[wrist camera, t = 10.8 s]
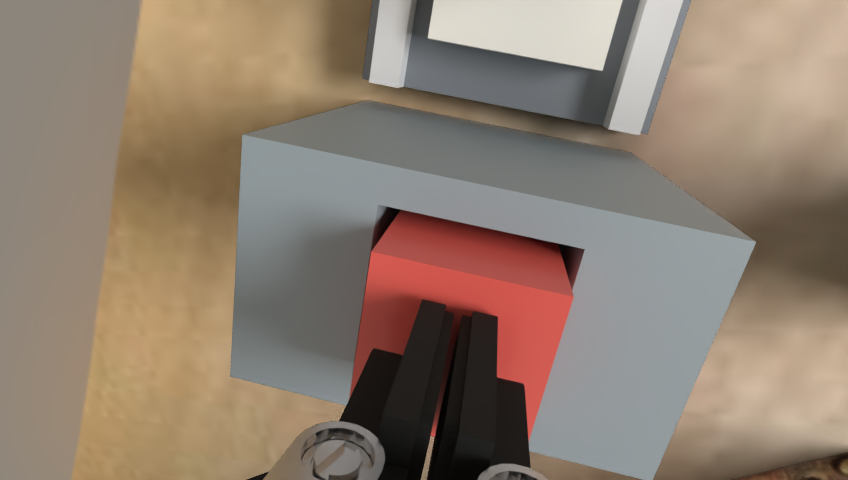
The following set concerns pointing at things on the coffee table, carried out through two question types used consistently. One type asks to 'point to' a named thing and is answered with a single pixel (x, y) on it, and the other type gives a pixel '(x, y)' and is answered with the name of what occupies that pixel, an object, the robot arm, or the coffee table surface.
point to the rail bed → (532, 65)
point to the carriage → (530, 28)
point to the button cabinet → (499, 210)
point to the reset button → (468, 295)
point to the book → (809, 470)
